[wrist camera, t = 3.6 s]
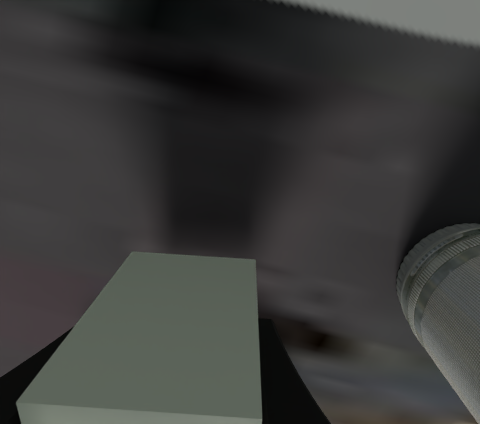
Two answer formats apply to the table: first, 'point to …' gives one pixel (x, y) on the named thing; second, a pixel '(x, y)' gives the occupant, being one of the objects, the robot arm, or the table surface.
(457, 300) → the camera lens
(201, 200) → the table surface
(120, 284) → the sage block
